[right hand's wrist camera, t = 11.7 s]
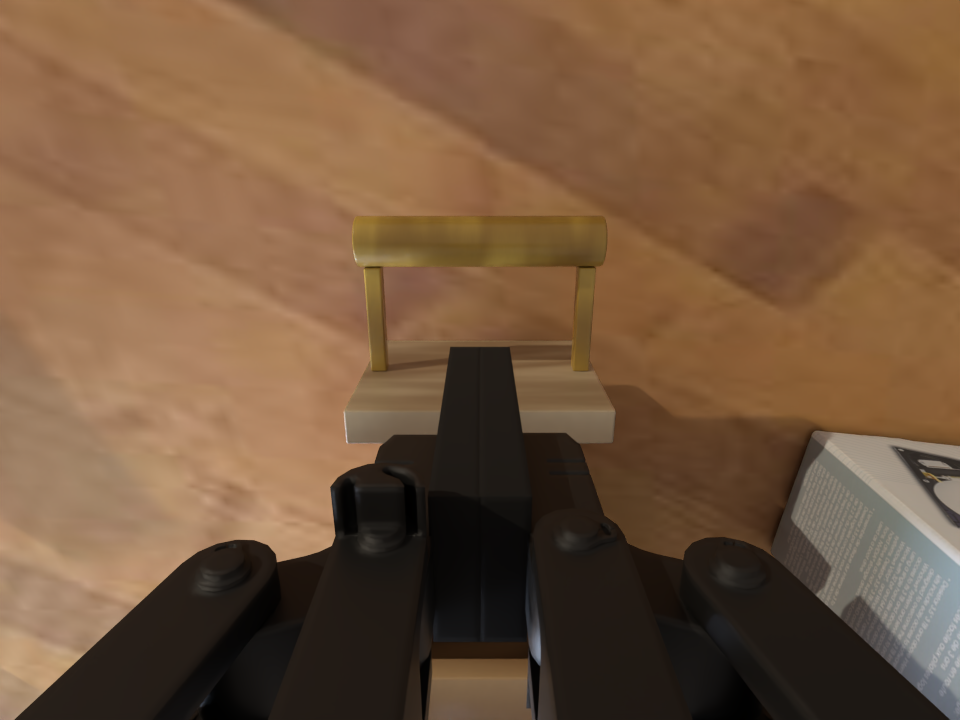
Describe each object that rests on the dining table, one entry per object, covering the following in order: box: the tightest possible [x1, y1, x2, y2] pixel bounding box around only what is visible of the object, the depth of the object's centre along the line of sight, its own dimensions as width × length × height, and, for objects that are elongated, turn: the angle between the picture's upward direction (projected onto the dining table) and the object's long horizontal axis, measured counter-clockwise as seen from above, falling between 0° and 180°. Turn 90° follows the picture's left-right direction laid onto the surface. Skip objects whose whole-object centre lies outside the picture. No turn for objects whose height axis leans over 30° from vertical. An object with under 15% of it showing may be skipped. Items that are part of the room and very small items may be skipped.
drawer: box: [344, 216, 616, 659], centre depth 23 cm, size 21×9×7 cm, turn 0°
